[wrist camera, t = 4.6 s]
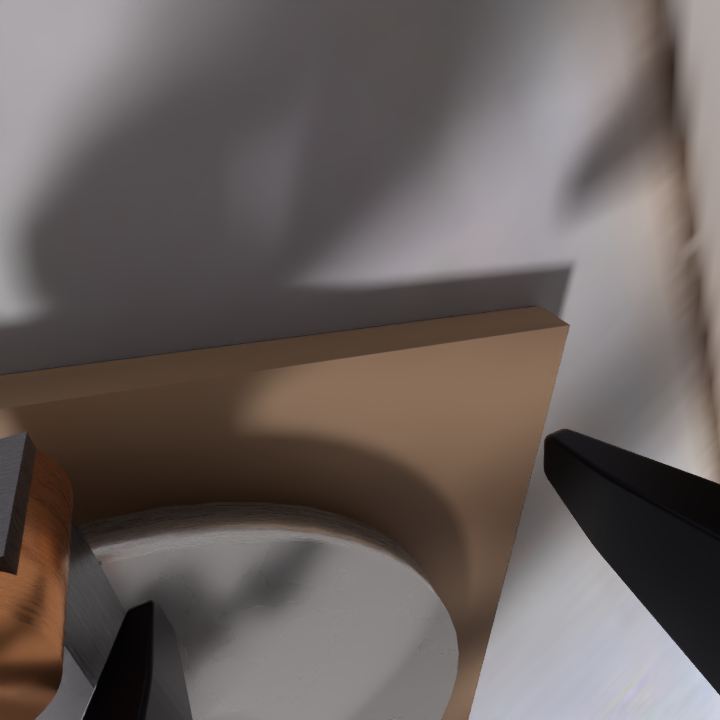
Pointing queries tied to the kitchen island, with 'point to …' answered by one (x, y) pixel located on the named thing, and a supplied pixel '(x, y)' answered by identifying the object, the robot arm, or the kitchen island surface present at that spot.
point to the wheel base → (325, 439)
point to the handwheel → (215, 605)
